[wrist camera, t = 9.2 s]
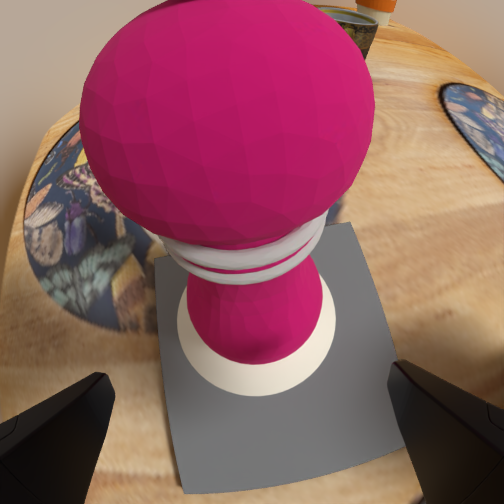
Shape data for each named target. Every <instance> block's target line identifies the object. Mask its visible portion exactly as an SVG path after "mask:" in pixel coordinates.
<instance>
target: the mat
mask: <svg viewBox="0 0 504 504" xmlns="http://www.w3.org/2000/svg"><path fill="white" fill-rule="evenodd" d="M309 255H310V256H311V258H312V259H313V261H314V263H315V266H316V268H317V270H318V273H319V276H320V280H321V284H322V291H323V301H322V309H321V313H320V316H319V319H318V322H317V325H316V327H315V329H314V331H313V333H312V334H311V336H310V337H309V339H308V340H307V341H306V342H305V343H304V344H303V345H302V346H301V347H300V348H299V349H298V350H297V351H295V352H294V353H292V354H291V355H289V356H287V357H286V358H283V359H281V360H278V361H276V362H272V363H267V364H261V365H249V364H241V363H237V362H234V361H230V360H228V359H226V358H224V357H222V356H220V355H219V354H217V353H216V352H214V351H213V350H211V349H210V348H209V347H208V346H207V345H206V344H205V343H204V341H203V340H202V339H201V337H200V336H199V335H198V333H197V331H196V330H195V328H194V326H193V324H192V322H191V320H190V316H189V313H188V309H187V281H188V276H189V271H187V270H186V269H184V268H183V267H182V266H180V265H179V264H178V263H177V262H176V261H175V260H174V259H173V258H172V257H171V255H170V256H165V257H159V258H154V264H155V292H156V310H157V325H158V337H159V348H160V358H161V367H162V375H163V383H164V391H165V398H166V405H167V411H168V418H169V424H170V430H171V435H172V441H173V446H174V451H175V456H176V461H177V465H178V470H179V474H180V479H181V483H182V487H183V491H184V494H208V493H224V492H236V491H245V490H253V489H260V488H267V487H273V486H279V485H284V484H289V483H294V482H299V481H303V480H308V479H312V478H316V477H320V476H323V475H327V474H331V473H334V472H338V471H341V470H344V469H347V468H351V467H354V466H357V465H360V464H362V463H365V462H368V461H371V460H374V459H376V458H379V457H381V456H384V455H386V454H389V453H391V452H394V451H396V450H398V449H401V448H403V447H405V446H406V445H405V443H404V440H403V438H402V435H401V433H400V430H399V427H398V424H397V421H396V417H395V414H394V410H393V406H392V403H391V399H390V396H389V392H388V389H387V379H388V375H389V371H390V367H391V364H392V363H393V362H394V361H398V358H397V355H396V351H395V348H394V344H393V341H392V337H391V334H390V330H389V327H388V324H387V321H386V318H385V314H384V311H383V308H382V305H381V302H380V299H379V296H378V293H377V290H376V288H375V285H374V282H373V279H372V276H371V274H370V271H369V268H368V265H367V263H366V260H365V257H364V255H363V252H362V250H361V247H360V245H359V242H358V240H357V237H356V235H355V232H354V230H353V227H352V225H351V222H346V223H340V224H335V225H329V226H324V229H323V232H322V234H321V237H320V239H319V241H318V243H317V244H316V246H315V247H314V249H313V250H312V251H311V253H310V254H309Z"/></svg>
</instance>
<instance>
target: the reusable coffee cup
mask: <svg viewBox="0 0 504 504" xmlns="http://www.w3.org/2000/svg"><path fill="white" fill-rule="evenodd" d="M396 1H397V0H356V3H357V11H358V12H359V13H362V14H365V15H368V16H370V17H372V18H374V19H376V20H377V21H378V23H379V24H378V25H382V26H387V25H388V22H389V19H390V16H391V13H392V12H393V11H394V8H395V5H396Z"/></svg>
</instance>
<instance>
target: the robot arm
mask: <svg viewBox="0 0 504 504" xmlns="http://www.w3.org/2000/svg"><path fill="white" fill-rule="evenodd" d="M387 389H388V392H389V396H390V399H391V403H392V406H393V410H394V414H395V417H396V421H397V424H398V427H399V430H400V433H401V435H402V438H403V440H404V443H405V445H406V448H407V451H408V453H409V456H410V458H411V461H412V464H413V467H414V469H415V472H416V475H417V478H418V480H419V483H420V486H421V489H422V492H423V495H424V498H425V501H426V504H504V410H503V409H501V408H499V407H496V406H494V405H492V404H490V403H488V402H487V403H486V401H484V400H482V399H480V398H478V397H476V396H474V395H472V394H470V393H468V392H466V391H464V390H462V389H460V388H459V387H457V386H455V385H453V384H451V383H449V382H447V381H445V380H443V379H441V378H439V377H437V376H435V375H433V374H431V373H429V372H428V371H426V370H424V369H422V368H420V367H418V366H416V365H414V364H412V363H410V362H409V361H407V360H398V361H394V362H393V363H392V364H391V367H390V371H389V375H388V379H387ZM114 401H115V391H114V388H113V386H112V384H111V381H110V379H109V377H108V375H107V374H106V373H101V372H94V373H92V374H91V375H89V376H87V377H85V378H84V379H82V380H80V381H78V382H77V383H75V384H73V385H71V386H69V387H68V388H66V389H64V390H62V391H61V392H59V393H57V394H55V395H53V396H52V397H50V398H48V399H46V400H44V401H42V402H41V403H39V404H37V405H35V406H33V407H31V408H30V409H28V410H26V411H24V412H22V413H20V414H19V415H16V416H15V417H13V418H11V419H9V420H7V421H5V422H3V423H1V424H0V504H84V503H85V499H86V496H87V492H88V489H89V486H90V482H91V479H92V476H93V473H94V470H95V466H96V463H97V460H98V457H99V454H100V451H101V448H102V445H103V443H104V440H105V437H106V433H107V430H108V425H109V421H110V417H111V413H112V409H113V405H114Z"/></svg>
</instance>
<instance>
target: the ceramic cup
mask: <svg viewBox="0 0 504 504" xmlns="http://www.w3.org/2000/svg"><path fill="white" fill-rule="evenodd" d="M318 9H319V10H321V11H322V12H324V13H325V14H327V15H328V16H330V17H331V18H333V19H334V20H335V21H336V22H337V23H338V24H339V25H340V26H341V27H342V28H343V29H344V30H345V31H346V33H347V34H348V35H349V36H350V37H351V39H352V40H353V41H354V43H355V44H356V45H357V46H358V48H359V49H360V50H361V53H362V55H363V58H364V60H365V59H366V56H367V54H368V51H369V48H370V46H371V44H372V42H373V39H374V37H375V34H376V31H377V28H378V24H379V23H378V21H377V20H376V19H374V18H372V17H370V16H368V15H365V14H362V13H359V12H355V11H351V10H346V9H340V8H330V7H321V8H318Z"/></svg>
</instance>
